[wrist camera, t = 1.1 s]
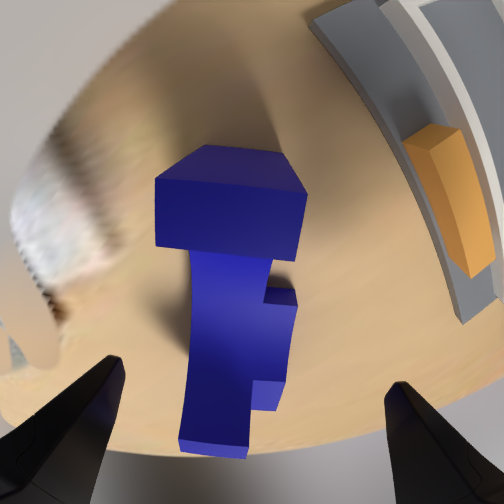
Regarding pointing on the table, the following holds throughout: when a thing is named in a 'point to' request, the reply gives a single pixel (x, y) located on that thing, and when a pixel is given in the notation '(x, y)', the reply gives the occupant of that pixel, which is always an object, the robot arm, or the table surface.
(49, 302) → the table surface
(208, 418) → the blue curved cradle
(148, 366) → the table surface
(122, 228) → the table surface
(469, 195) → the dock board
